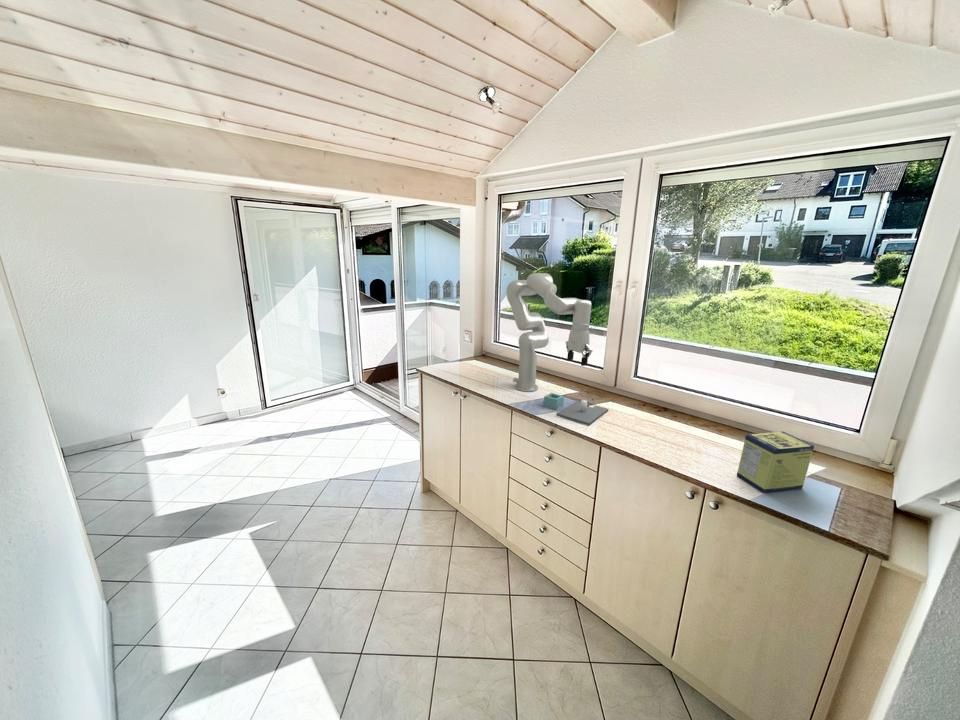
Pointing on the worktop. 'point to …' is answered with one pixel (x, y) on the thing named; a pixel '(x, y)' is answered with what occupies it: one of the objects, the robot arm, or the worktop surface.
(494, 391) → the worktop surface
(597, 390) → the worktop surface
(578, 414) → the board
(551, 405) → the spool collar
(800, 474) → the protein box
